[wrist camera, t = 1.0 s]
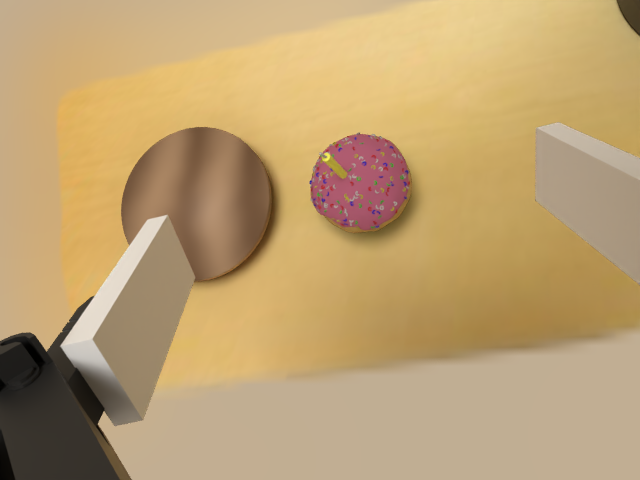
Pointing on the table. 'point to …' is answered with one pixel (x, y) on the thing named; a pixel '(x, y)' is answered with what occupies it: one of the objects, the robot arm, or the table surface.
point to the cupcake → (361, 183)
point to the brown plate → (202, 197)
